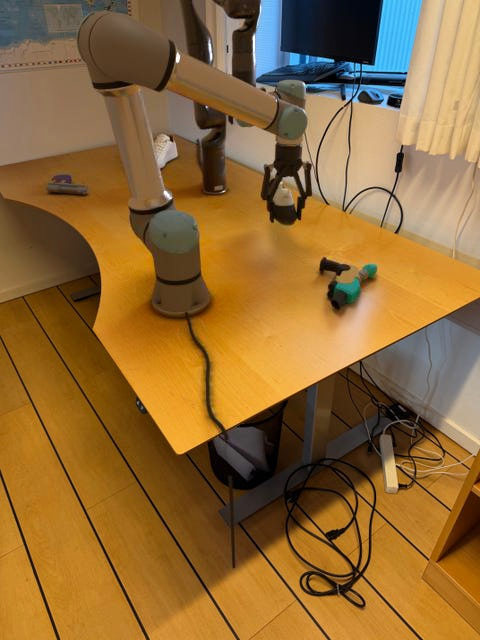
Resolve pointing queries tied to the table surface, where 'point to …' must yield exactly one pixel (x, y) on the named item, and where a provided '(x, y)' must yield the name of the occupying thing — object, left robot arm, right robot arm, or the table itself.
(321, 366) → the table surface
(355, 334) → the table surface
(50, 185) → the toy gun
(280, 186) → the ballet flat
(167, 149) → the sneaker
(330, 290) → the toy gun
